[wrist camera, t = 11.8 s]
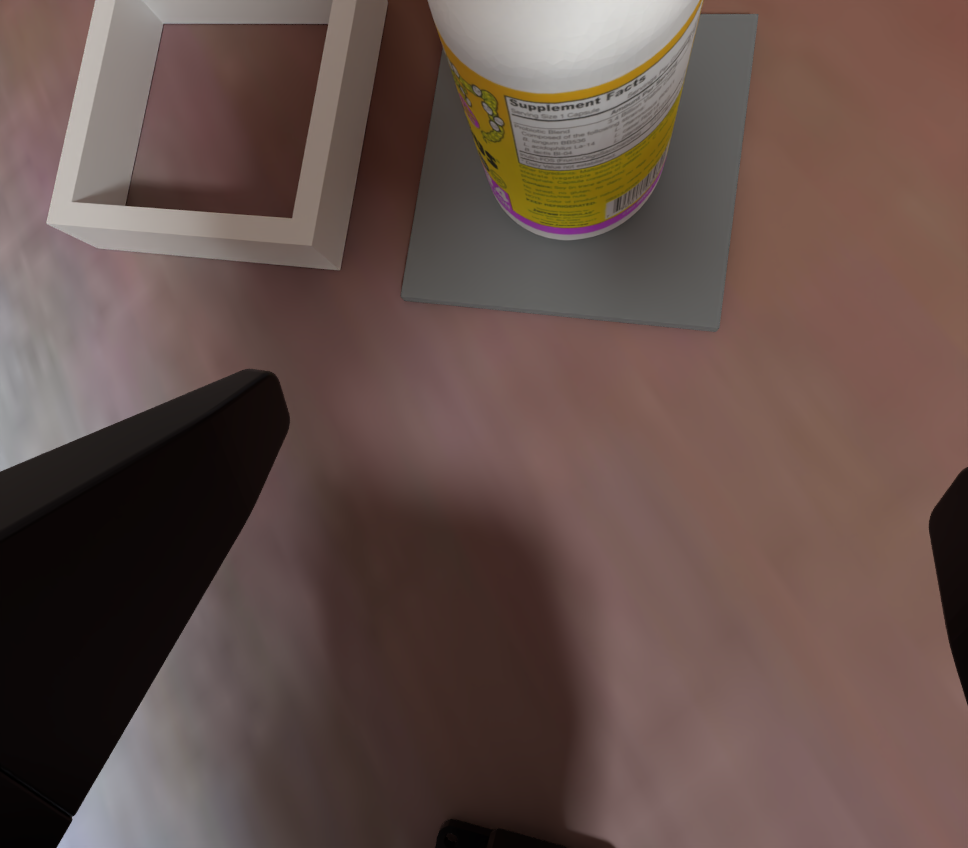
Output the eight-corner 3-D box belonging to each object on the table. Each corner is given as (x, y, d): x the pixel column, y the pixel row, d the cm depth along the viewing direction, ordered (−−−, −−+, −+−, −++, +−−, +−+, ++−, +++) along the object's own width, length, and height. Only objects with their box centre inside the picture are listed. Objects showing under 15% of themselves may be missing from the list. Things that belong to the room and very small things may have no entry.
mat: (715, 331, 21) (719, 328, 20) (404, 300, 23) (400, 296, 22) (754, 24, 22) (758, 14, 21) (451, 24, 24) (448, 14, 23)
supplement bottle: (492, 90, 23) (372, -401, 10) (664, 75, 21) (772, -503, 9) (485, 251, 22) (347, -59, 9) (662, 245, 21) (777, -120, 8)
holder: (340, 270, 24) (311, 245, 21) (97, 248, 26) (46, 223, 23) (387, 2, 24) (365, -51, 22) (149, 3, 27) (105, -45, 24)
